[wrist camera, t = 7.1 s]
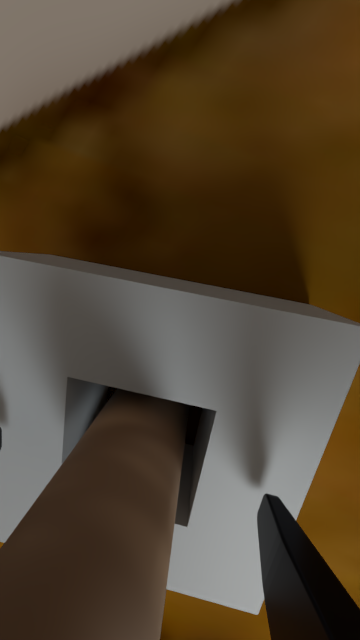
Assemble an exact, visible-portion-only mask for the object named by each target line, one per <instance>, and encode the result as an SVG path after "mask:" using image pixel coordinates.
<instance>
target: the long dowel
mask: <svg viewBox="0 0 360 640" xmlns="http://www.w3.org/2000/svg"><path fill="white" fill-rule="evenodd" d="M189 406H190V405H189V404H184V403H180V402H176V401H171V400H167V399H163V398H158V397H154V396H150V395H145V394H141V393H136V392H132V391H128V390H123V389H119V388H117V390H116V391H115V392H114V394H113V395H112V396H111V398H110V399H109V401H108V402H107V403H106V405H105V406H104V407H103V409H102V410H101V412H100V413H99V414H98V416H97V417H96V418H95V420H94V421H93V423H92V424H91V425H90V427H89V428H88V429H87V431H86V432H85V433H84V435H83V436H82V438H81V439H80V440H79V442H78V443H77V444H76V446H75V447H74V449H73V450H72V451H71V453H70V454H69V455H68V457H67V458H66V460H65V461H64V462H63V464H62V465H61V466H60V468H59V469H58V470H57V472H56V473H55V475H54V476H53V477H52V479H51V480H50V481H49V483H48V484H47V486H46V487H45V488H44V490H43V491H42V492H41V494H40V495H39V496H38V498H37V499H36V501H35V502H34V503H33V505H32V506H31V507H30V509H29V510H28V512H27V513H26V514H25V516H24V517H23V518H22V520H21V521H20V523H19V524H18V525H17V527H16V528H15V529H14V531H13V532H12V533H11V535H10V536H9V538H8V539H7V540H6V542H5V543H4V544H3V546H2V547H1V549H0V640H160V634H161V626H162V618H163V611H164V603H165V595H166V587H167V579H168V571H169V564H170V556H171V548H172V540H173V532H174V524H175V516H176V509H177V501H178V493H179V485H180V477H181V469H182V461H183V454H184V446H185V438H186V430H187V422H188V414H189Z"/></svg>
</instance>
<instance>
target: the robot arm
mask: <svg viewBox="0 0 360 640" xmlns="http://www.w3.org/2000/svg"><path fill="white" fill-rule="evenodd" d="M1 447H2V429H1V427H0V450H1ZM257 527H258V539H259V551H260V563H261V575H262V585H263V592H264V599H265V605H266V611H267V617H268V623H269V629H270V635H271V640H360V609H359V607H358V606H357V605H356V603H355V602H354V600H353V599H352V598H351V596H350V595H349V594H348V592H347V591H346V589H345V588H344V587H343V585H342V584H341V582H340V581H339V580H338V578H337V577H336V575H335V574H334V573H333V571H332V570H331V569H330V567H329V566H328V564H327V563H326V562H325V560H324V559H323V557H322V556H321V555H320V553H319V552H318V551H317V549H316V548H315V546H314V545H313V544H312V542H311V541H310V539H309V538H308V537H307V535H306V534H305V533H304V531H303V530H302V528H301V527H300V526H299V524H298V523H297V521H296V520H295V519H294V517H293V516H292V515H291V513H290V512H289V510H288V509H287V508H286V506H285V505H284V503H283V502H282V501H281V499H280V498H279V497H278V496H275V495H271V494H267V493H266V494H264V496H263V498H262V501H261V504H260V507H259V510H258V513H257Z"/></svg>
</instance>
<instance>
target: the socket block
mask: <svg viewBox="0 0 360 640" xmlns="http://www.w3.org/2000/svg"><path fill="white" fill-rule="evenodd" d="M359 363H360V323H357V322H354V321H352V320H349V319H347V318H344V317H341V316H339V315H336V314H334V313H331V312H328V311H326V310H323V309H321V308H318V307H315V306H313V305H310V304H305V303H300V302H295V301H289V300H284V299H279V298H274V297H269V296H263V295H258V294H253V293H248V292H243V291H237V290H232V289H227V288H222V287H217V286H212V285H206V284H201V283H196V282H191V281H186V280H180V279H175V278H170V277H165V276H160V275H154V274H149V273H144V272H139V271H134V270H128V269H123V268H118V267H113V266H108V265H102V264H97V263H92V262H87V261H82V260H76V259H71V258H66V257H61V256H56V255H50V254H35V253H20V252H5V251H0V427H1V429H2V447H1V450H0V542H4V543H5V542H6V540H7V539H8V538H9V536H10V535H11V533H12V532H13V531H14V529H15V528H16V527H17V525H18V524H19V523H20V521H21V520H22V518H23V517H24V516H25V514H26V513H27V512H28V510H29V509H30V507H31V506H32V505H33V503H34V502H35V501H36V499H37V498H38V496H39V495H40V494H41V492H42V491H43V490H44V488H45V487H46V486H47V484H48V483H49V481H50V480H51V479H52V477H53V476H54V475H55V473H56V472H57V470H58V469H59V468H60V466H61V465H62V464H63V462H64V461H65V460H66V458H67V457H68V455H69V454H70V453H71V451H72V450H73V449H74V447H75V446H76V444H77V443H78V442H79V440H80V439H81V438H82V436H83V435H84V433H85V432H86V431H87V429H88V428H89V427H90V425H91V424H92V423H93V421H94V420H95V418H96V417H97V416H98V414H99V413H100V412H101V410H102V409H103V407H104V406H105V405H106V403H107V396H108V388H109V386H110V387H115V388H119V389H123V390H128V391H132V392H136V393H141V394H145V395H150V396H154V397H158V398H163V399H167V400H171V401H176V402H180V403H184V404H189V405H193V406H198V407H202V412H201V416H200V420H199V425H198V429H197V433H196V437H195V442H194V446H193V445H189V444H185V446H184V454H183V461H182V469H181V477H180V485H179V493H178V501H177V509H176V516H175V524H174V532H173V540H172V548H171V556H170V564H169V571H168V579H167V587H166V589H168V590H172V591H175V592H179V593H182V594H186V595H189V596H193V597H196V598H200V599H203V600H207V601H210V602H214V603H217V604H221V605H224V606H228V607H231V608H235V609H238V610H242V611H245V612H249V613H252V614H256V615H258V613H259V610H260V608H261V605H262V603H263V600H264V592H263V585H262V575H261V563H260V551H259V539H258V527H257V513H258V510H259V507H260V504H261V501H262V498H263V496H264V494H266V493H267V494H271V495H275V496H278V497H279V498H280V499H281V501H282V502H283V503H284V505H285V506H286V508H287V509H288V510H289V512H290V513H291V515H292V516H293V517H294V519H295V520H296V519H297V516H298V514H299V512H300V509H301V507H302V504H303V502H304V499H305V497H306V494H307V492H308V489H309V487H310V484H311V482H312V479H313V477H314V475H315V472H316V470H317V467H318V465H319V462H320V460H321V457H322V455H323V452H324V450H325V447H326V445H327V442H328V440H329V437H330V435H331V433H332V430H333V428H334V425H335V423H336V420H337V418H338V415H339V413H340V410H341V408H342V405H343V403H344V400H345V398H346V396H347V393H348V391H349V388H350V386H351V383H352V381H353V378H354V376H355V373H356V371H357V368H358V366H359Z"/></svg>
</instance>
